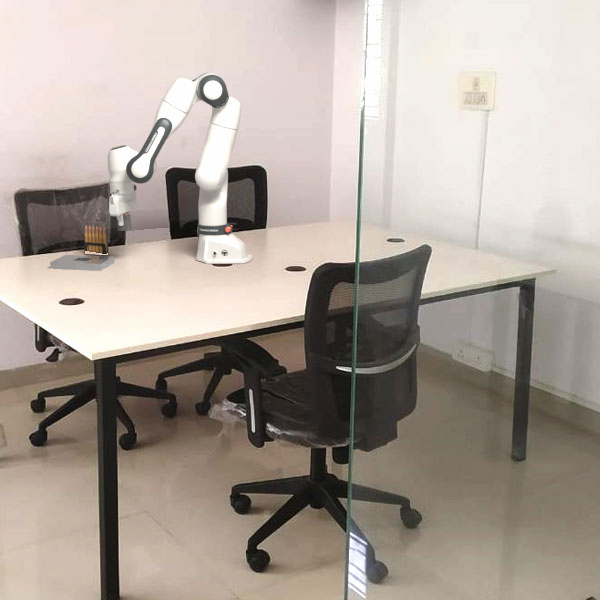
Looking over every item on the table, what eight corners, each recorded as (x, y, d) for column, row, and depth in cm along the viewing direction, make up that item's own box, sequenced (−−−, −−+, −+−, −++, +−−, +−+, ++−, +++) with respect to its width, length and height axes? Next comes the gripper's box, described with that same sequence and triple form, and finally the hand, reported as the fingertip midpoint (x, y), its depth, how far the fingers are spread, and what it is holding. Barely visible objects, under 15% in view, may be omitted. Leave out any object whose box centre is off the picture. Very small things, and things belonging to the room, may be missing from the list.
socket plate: (114, 262, 353) (114, 254, 352) (100, 270, 339) (100, 261, 339) (66, 261, 356) (65, 252, 355) (50, 268, 343) (50, 260, 342)
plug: (131, 228, 354) (130, 212, 352) (127, 230, 350) (126, 214, 348) (121, 228, 354) (120, 212, 353) (117, 230, 350) (116, 214, 349)
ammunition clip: (84, 254, 369) (82, 225, 366) (87, 253, 371) (85, 224, 368) (106, 256, 365) (104, 226, 362) (108, 255, 367) (107, 226, 364)
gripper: (119, 192, 338) (122, 228, 341) (138, 185, 357) (140, 220, 361) (103, 192, 339) (106, 228, 342) (123, 185, 358) (125, 220, 362)
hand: (124, 224), depth 351 cm, fingers closed on plug, 4 cm apart
